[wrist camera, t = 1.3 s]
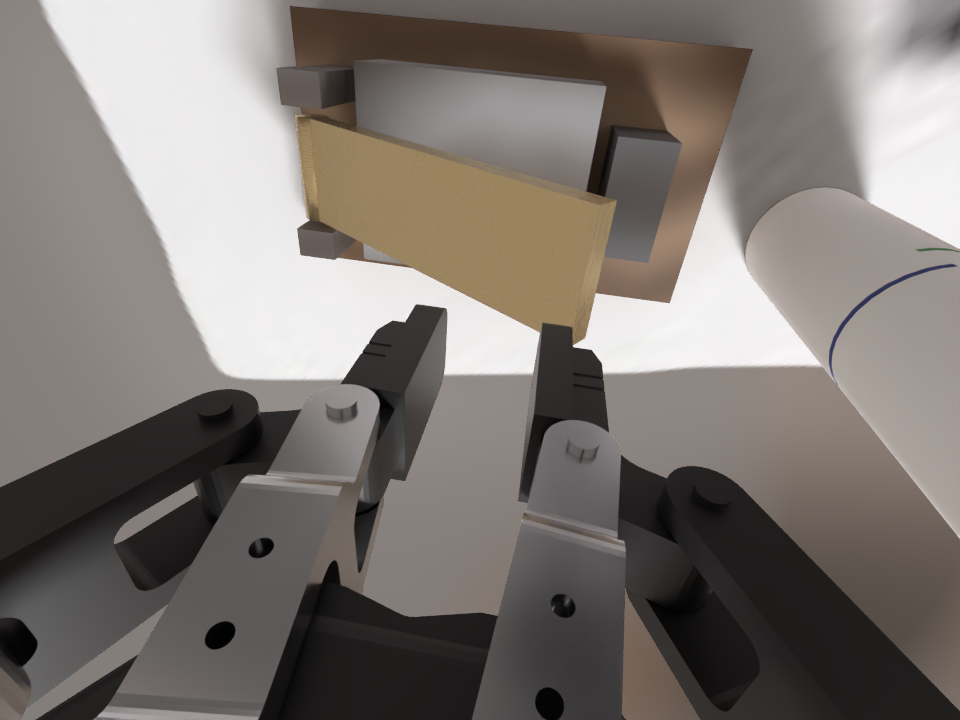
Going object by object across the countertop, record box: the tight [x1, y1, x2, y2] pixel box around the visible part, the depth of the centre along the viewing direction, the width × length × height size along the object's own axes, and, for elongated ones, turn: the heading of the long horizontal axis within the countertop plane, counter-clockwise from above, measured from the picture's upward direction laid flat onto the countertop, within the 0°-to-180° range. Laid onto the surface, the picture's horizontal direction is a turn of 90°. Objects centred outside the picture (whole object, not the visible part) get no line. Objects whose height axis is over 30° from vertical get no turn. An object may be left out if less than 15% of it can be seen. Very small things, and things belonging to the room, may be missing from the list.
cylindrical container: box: [745, 187, 960, 538], centre depth 21 cm, size 7×7×25 cm
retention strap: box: [295, 114, 617, 345], centre depth 21 cm, size 5×18×2 cm
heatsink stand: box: [277, 6, 753, 303], centre depth 28 cm, size 14×24×9 cm, turn 85°
